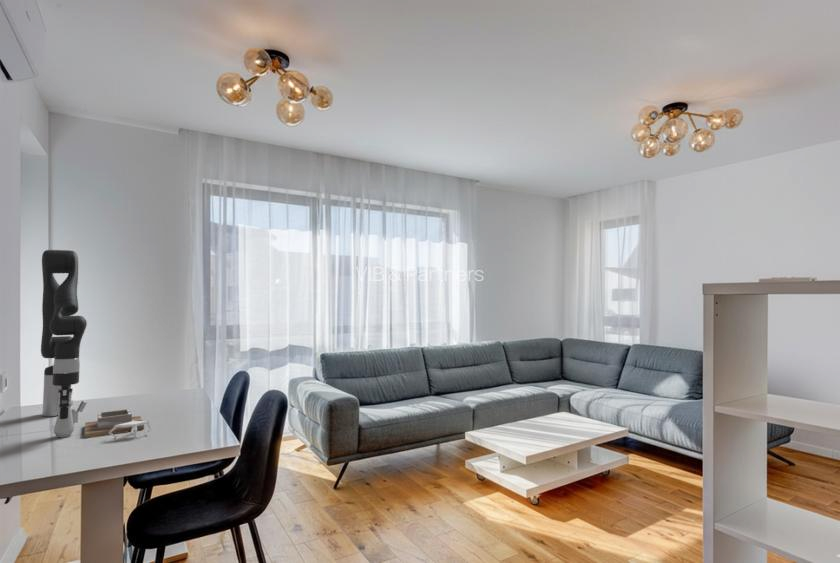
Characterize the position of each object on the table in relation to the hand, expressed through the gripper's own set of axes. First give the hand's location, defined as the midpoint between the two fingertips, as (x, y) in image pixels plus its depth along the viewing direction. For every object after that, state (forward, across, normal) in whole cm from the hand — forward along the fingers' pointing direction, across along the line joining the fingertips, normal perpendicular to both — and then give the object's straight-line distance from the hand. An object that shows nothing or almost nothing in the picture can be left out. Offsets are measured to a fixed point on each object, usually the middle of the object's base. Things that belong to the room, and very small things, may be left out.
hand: (64, 416), depth 159 cm
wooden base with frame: (+7, -2, +15) cm, 17 cm away
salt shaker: (+7, 0, 0) cm, 7 cm away
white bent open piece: (+8, +14, +19) cm, 25 cm away
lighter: (+7, -22, +3) cm, 23 cm away
